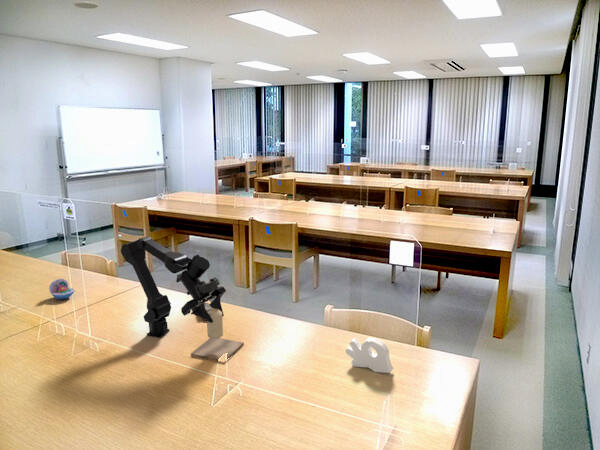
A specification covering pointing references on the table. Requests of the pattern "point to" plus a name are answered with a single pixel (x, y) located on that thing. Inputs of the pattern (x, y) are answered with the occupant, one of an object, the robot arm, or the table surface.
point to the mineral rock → (207, 307)
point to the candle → (215, 324)
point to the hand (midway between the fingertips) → (217, 319)
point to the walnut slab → (217, 349)
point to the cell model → (60, 289)
